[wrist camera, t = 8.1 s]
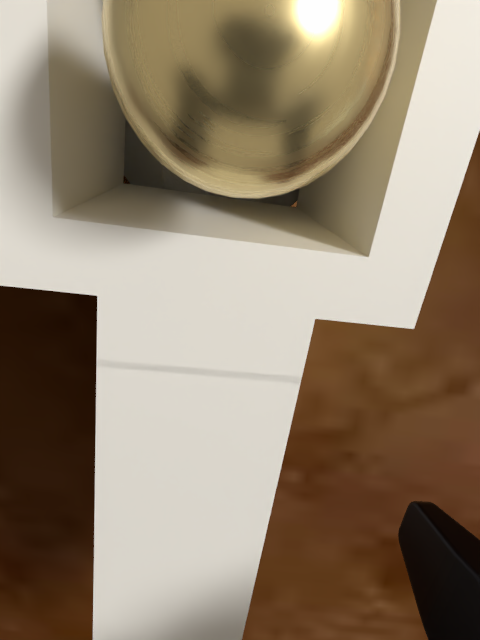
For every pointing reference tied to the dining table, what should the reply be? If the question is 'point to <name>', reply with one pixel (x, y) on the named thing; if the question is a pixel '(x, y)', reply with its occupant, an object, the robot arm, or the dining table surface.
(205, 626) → the square loop paddle
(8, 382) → the dining table surface
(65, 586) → the dining table surface
